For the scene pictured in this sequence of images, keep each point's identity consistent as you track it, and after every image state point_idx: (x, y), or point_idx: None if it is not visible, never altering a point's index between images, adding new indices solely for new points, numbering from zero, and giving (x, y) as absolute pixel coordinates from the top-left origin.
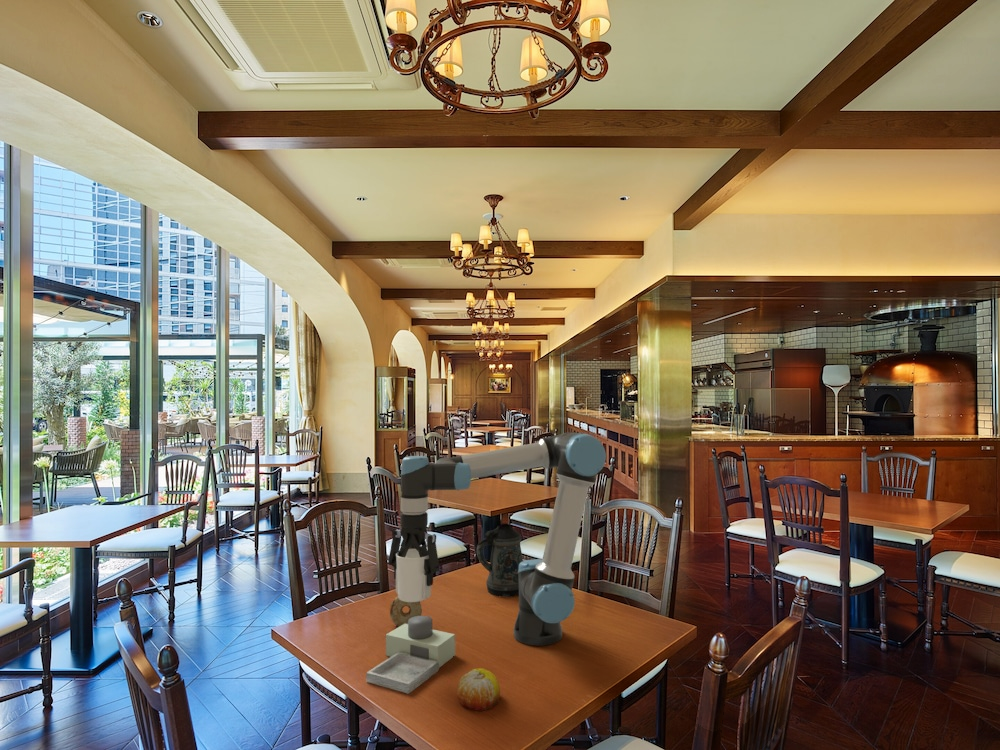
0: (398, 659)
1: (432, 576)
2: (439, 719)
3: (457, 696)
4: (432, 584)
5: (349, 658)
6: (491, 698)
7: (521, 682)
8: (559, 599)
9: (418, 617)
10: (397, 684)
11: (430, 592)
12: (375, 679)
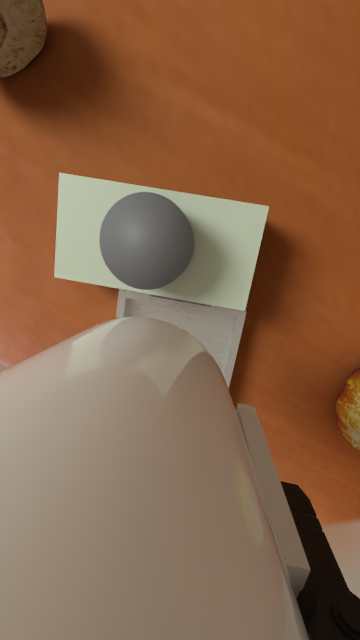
0: (128, 298)
1: (333, 572)
2: (313, 472)
3: (340, 433)
4: (299, 487)
5: (12, 309)
6: None
7: None
8: None
9: (124, 217)
10: None
11: (257, 422)
12: None
